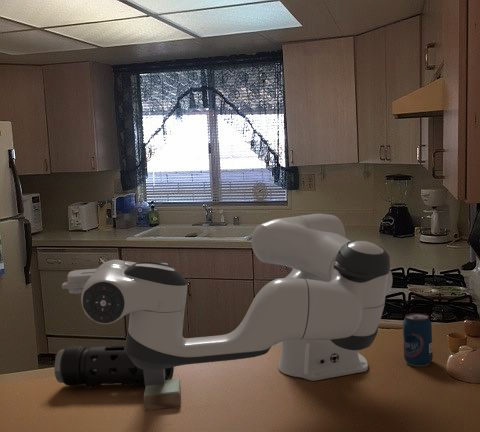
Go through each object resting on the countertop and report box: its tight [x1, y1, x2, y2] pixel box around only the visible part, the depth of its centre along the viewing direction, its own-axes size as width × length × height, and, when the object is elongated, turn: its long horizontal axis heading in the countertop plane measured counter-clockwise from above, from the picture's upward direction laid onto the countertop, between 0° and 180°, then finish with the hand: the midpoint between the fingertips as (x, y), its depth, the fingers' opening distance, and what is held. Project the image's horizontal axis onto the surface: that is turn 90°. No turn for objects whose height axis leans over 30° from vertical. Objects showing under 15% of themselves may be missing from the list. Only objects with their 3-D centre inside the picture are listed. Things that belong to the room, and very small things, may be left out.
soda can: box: [402, 312, 434, 367], centre depth 146 cm, size 7×7×12 cm
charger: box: [143, 369, 165, 387], centre depth 135 cm, size 4×5×12 cm
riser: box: [143, 378, 182, 411], centre depth 133 cm, size 8×8×4 cm
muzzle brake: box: [53, 345, 175, 388], centre depth 144 cm, size 10×28×10 cm, turn 84°
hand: (122, 270), depth 124 cm, fingers open, 8 cm apart
